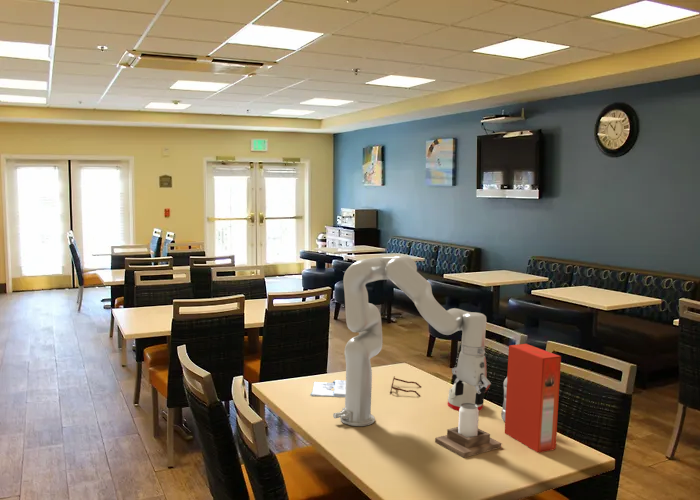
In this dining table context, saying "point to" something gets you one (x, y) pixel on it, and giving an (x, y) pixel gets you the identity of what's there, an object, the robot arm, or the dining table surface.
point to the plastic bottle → (504, 400)
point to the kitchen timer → (463, 397)
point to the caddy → (467, 442)
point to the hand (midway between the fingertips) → (468, 399)
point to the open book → (329, 389)
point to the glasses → (402, 389)
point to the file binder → (532, 396)
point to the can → (468, 420)
